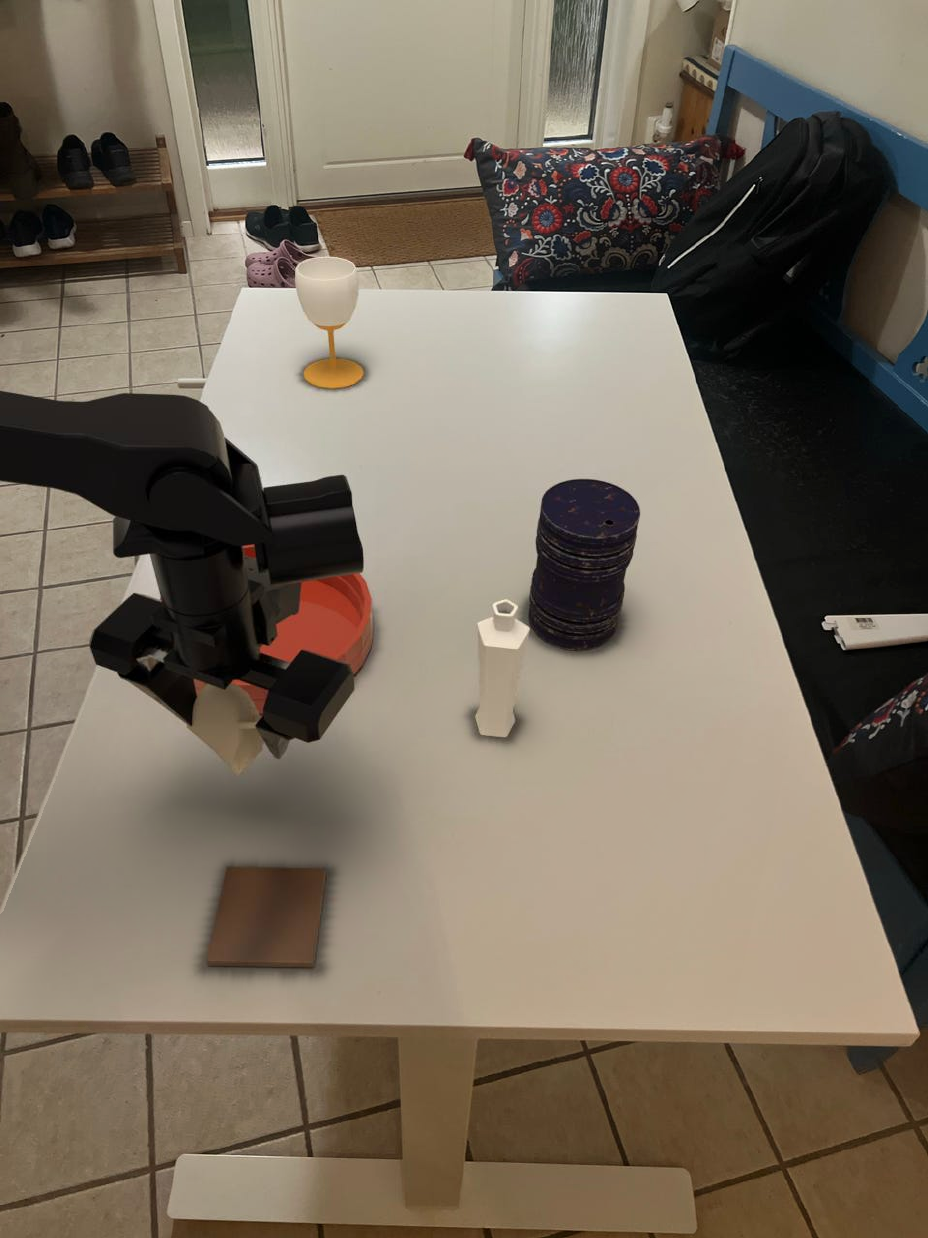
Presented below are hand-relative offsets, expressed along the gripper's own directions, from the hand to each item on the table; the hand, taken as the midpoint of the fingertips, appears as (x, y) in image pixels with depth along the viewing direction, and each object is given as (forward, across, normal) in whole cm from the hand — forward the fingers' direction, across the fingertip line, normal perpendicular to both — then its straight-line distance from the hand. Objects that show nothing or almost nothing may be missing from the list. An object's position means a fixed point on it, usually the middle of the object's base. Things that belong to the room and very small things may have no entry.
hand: (237, 737), depth 69 cm
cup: (+11, +32, -72) cm, 80 cm away
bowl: (+11, +10, -20) cm, 25 cm away
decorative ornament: (+1, 0, 0) cm, 1 cm away
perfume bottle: (+11, -15, -19) cm, 26 cm away
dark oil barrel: (+11, -18, -36) cm, 41 cm away
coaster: (+11, -6, +8) cm, 15 cm away
